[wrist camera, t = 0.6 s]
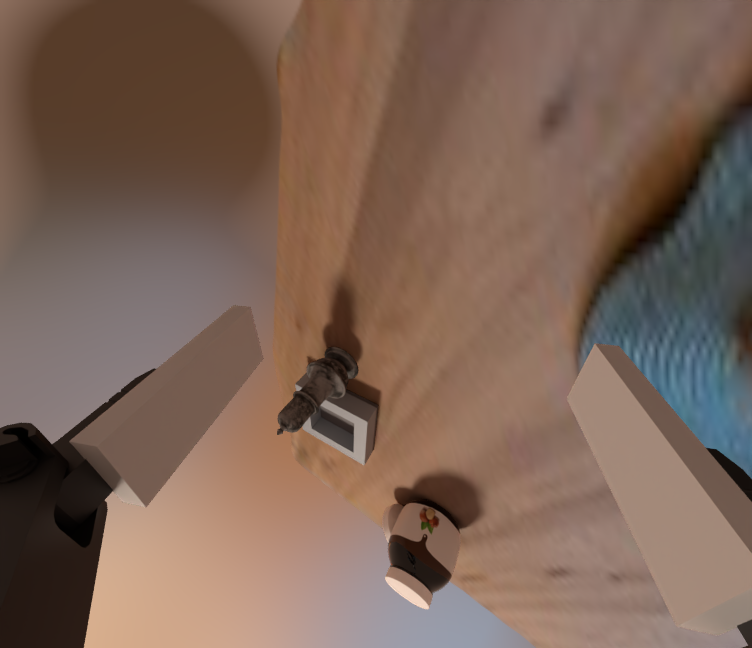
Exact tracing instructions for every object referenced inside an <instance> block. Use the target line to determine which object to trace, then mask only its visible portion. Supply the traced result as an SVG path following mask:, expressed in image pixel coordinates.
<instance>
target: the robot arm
mask: <svg viewBox="0 0 752 648" xmlns="http://www.w3.org/2000/svg"><path fill="white" fill-rule="evenodd" d="M262 360H263V355H262V351H261V346H260V342H259V338H258V334H257V330H256V326H255V323H254V319H253V315H252V311H251V307H245V306H236V305H234V306H232V307H231V308H230V309H229V310H228V311H226V312H225V313H224V314H223V315H221V316H220V317H219V318H218V319H217V320H216V321H214V322H213V323H212V324H211V325H209V326H208V327H207V328H206V329H204V330H203V331H202V332H201V333H200V334H198V335H197V336H196V337H195V338H194V339H192V340H191V341H190V342H189V343H188V344H186V345H185V346H184V347H183V348H182V349H180V350H179V351H178V352H177V353H175V354H174V355H173V356H172V357H171V358H169V359H168V360H167V361H166V362H164V363H163V364H162V365H161V366H160V367H158V368H157V369H152V370H150V371H148V372H146V373H145V374H143V375H141V376H139V377H137V378H135V379H134V380H133V381H131V382H130V383H129V384H128V385H126V386H125V387H124V388H123V389H121V392H118V393H117V394H115V395H114V396H113V397H112V398H110V399H109V401H108V402H107V403H106V402H105V403H104V404H103V405H102V406H100V407H99V408H98V409H97V410H95V411H94V412H93V413H91V414H90V415H89V416H88V417H86V418H85V419H84V420H83V421H81V422H80V423H79V424H78V425H76V426H75V427H74V428H73V429H71V430H70V431H69V432H68V433H66V434H65V435H64V436H63V437H61V438H60V439H59V440H58V441H56V442H55V443H53V444H51V443H50V442H49V441H48V440H47V439H46V438H45V436H44V435H43V434H42V433H41V432H40V431H39V430H38V429H37V428H36V427H35V426H34V425H32V424H31V423H17V424H12V425H7V426H4V427H2V428H0V648H84V643H85V637H86V631H87V625H88V619H89V614H90V608H91V602H92V596H93V591H94V585H95V579H96V573H97V568H98V562H99V556H100V550H101V545H102V538H103V533H104V527H105V521H106V516H107V510H108V509H107V502H105V499H106V498H107V497H108V496H109V494H110V493H111V492H112V491H113V492H114V493H115V494H116V495H117V496H118V497H119V499H120V500H121V501H122V502H124V503H129V504H133V505H138V506H142V507H147V506H148V505H149V503H150V502H151V500H153V498H154V497H155V495H156V494H157V493H158V492H159V491H160V489H161V488H162V487H163V486H164V484H165V483H166V482H167V480H168V479H169V478H170V476H171V475H172V474H173V473H174V472H175V470H176V469H177V467H178V466H179V465H180V464H181V463H182V461H183V460H184V459H185V458H186V456H187V455H188V454H189V453H190V451H191V450H192V449H193V447H194V446H195V445H196V444H197V442H198V441H199V440H200V439H201V437H202V436H203V435H204V434H205V432H206V431H207V430H208V428H209V427H210V426H211V425H212V423H213V422H214V421H215V419H216V418H217V417H218V416H219V414H220V413H221V412H222V411H223V409H224V408H225V407H226V406H227V404H228V403H229V402H230V401H231V399H232V398H233V397H234V395H235V394H236V393H237V392H238V390H239V389H240V388H241V387H242V385H243V384H244V383H245V381H246V380H247V379H248V378H249V376H250V375H251V374H252V373H253V371H254V370H255V369H256V368H257V366H258V365H259V364H260V362H261V361H262ZM567 401H568V403H569V405H570V407H571V409H572V411H573V413H574V415H575V417H576V419H577V421H578V423H579V425H580V428H581V430H582V432H583V434H584V436H585V438H586V440H587V442H588V444H589V446H590V448H591V450H592V452H593V454H594V457H595V459H596V461H597V463H598V465H599V467H600V469H601V471H602V473H603V475H604V477H605V479H606V481H607V483H608V486H609V488H610V490H611V492H612V494H613V496H614V498H615V500H616V502H617V504H618V506H619V508H620V510H621V512H622V515H623V517H624V519H625V521H626V523H627V525H628V527H629V529H630V531H631V533H632V535H633V537H634V539H635V541H636V544H637V546H638V548H639V550H640V552H641V554H642V556H643V558H644V560H645V562H646V564H647V566H648V568H649V571H650V573H651V575H652V577H653V579H654V581H655V583H656V585H657V587H658V589H659V591H660V593H661V595H662V597H663V600H664V602H665V604H666V606H667V608H668V610H669V612H670V614H671V616H672V618H673V620H674V622H675V624H676V626H677V627H681V628H686V629H690V630H695V631H699V632H703V633H708V634H712V635H717V636H718V635H720V634H722V633H725V632H727V631H729V630H732V629H734V628H737V627H738V629H739V631H740V632H741V634H742V635H743V637H744V639H745V640H746V642H747V644H748V646H746V647H743V648H752V479H751V478H750V477H749V476H748V475H747V474H746V473H745V472H744V470H743V469H741V468H740V467H739V466H737V465H736V464H735V463H734V462H732V461H731V460H730V459H728V458H727V457H726V456H724V455H723V454H722V453H720V452H719V451H718V450H717V449H710V448H705V447H704V445H703V444H702V443H701V442H700V441H699V440H698V438H697V437H696V436H695V435H694V434H693V433H692V431H691V430H690V429H689V428H688V427H687V425H686V424H685V423H684V422H683V421H682V420H681V418H680V417H679V416H678V415H677V414H676V413H675V411H674V410H673V409H672V408H671V407H670V405H669V404H668V403H667V402H666V401H665V400H664V398H663V397H662V396H661V395H660V394H659V393H658V391H657V390H656V389H655V388H654V387H653V386H652V384H651V383H650V382H649V381H648V380H647V378H646V377H645V376H644V375H643V374H642V373H641V371H640V370H639V369H638V368H637V367H636V366H635V364H634V363H633V362H632V361H631V360H630V359H629V357H628V356H627V355H626V354H625V353H624V351H623V350H622V349H621V348H620V347H619V346H614V345H604V344H594V346H593V348H592V350H591V352H590V354H589V356H588V358H587V360H586V362H585V364H584V366H583V368H582V370H581V372H580V373H579V375H578V377H577V379H576V381H575V383H574V385H573V387H572V389H571V391H570V393H569V395H568V397H567Z"/></svg>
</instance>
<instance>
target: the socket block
mask: <svg viewBox="0 0 752 648" xmlns="http://www.w3.org/2000/svg"><path fill="white" fill-rule="evenodd" d="M308 380H309V377H308V375H307V373H306V374H305V375H304V376H303V377H302V378H301V379H300V380H299V381H298V382H297V383H296V384H295V386H296V391H300V390H301V389H302V388H303V386H304V385H305V384H306V383H307V382H308ZM377 413H378V405H377V404H375V403H373V402H371V401H369V400H367V399H365V398H363V397H361V396H359V395H357V394H355V393H353V392H351V391H349V390H347V389H346V392H345V395H344V396H343V397H341V398H331V397H328V398H327V399H325V401H324V402H323V403H322V404H321V405H320V407H319V412H318V413H317V414H312V415H311V416H310V417H309V419H308V420H307V421H306V422H305V423H304V425H303V430H305V431H306V432H308V433H310V434H311V435H313V436H315V437H317V438H318V439H320V440H322V441H323V442H325V443H327V444H329V445H330V446H332V447H334V448H335V449H337V450H339V451H340V452H342V453H344V454H346V455H347V456H349V457H351V458H352V459H354V460H356V461H358V462H359V463H361V464H363V465H365V463H366V462H367V460H368V458H369V457H370V455H371V453H372V451H373V450H374V441H375V432H376V423H377Z"/></svg>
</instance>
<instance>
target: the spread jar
mask: <svg viewBox="0 0 752 648" xmlns="http://www.w3.org/2000/svg"><path fill="white" fill-rule="evenodd" d="M383 531H384V534H385V537H386V539H387V541H388V555H389V560H390V563H391V566H390V567H389V569H388V572H387V575H386V577H385V579H386V581H387V583H388V584H389V585H390V586H391V587H392V588H393V589H394V590H395V591H396V592H397V593H399V594H400V595H401V596H402V597H404V598H406V599H407V600H408V601H410V602H411V603H413V604H415V605H416V606H418V607H421V608H423V609H429V607H430V604H431V600H432V595H433V593H435V592H436V591H439V590H440V589H442V588H443V587H444V586H445V585H446V584H447V583H448V582H449V580H450V579H451V577H452V574H453V572H454V568H455V565H456V561H457V557H458V553H459V549H460V543H461V536H460V531H459V528H458V526H457V524H456V522H455V520H454V519H453V517H452V516H451V515H450V514H449V513H448V512H447V511H446V510H445V509H444V508H442V507H441V506H439V505H437V504H436V503H434V502H431V501H429V500H425V499H417V500H413V501H411V502H409V503H408V504H406V505H405V506H403V505H401V504H393V505H391V506H389V507H387V508H386V510H385V512H384V514H383Z"/></svg>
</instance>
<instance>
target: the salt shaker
mask: <svg viewBox="0 0 752 648" xmlns="http://www.w3.org/2000/svg"><path fill="white" fill-rule="evenodd" d="M357 374H358V366H357V364H356V362H355V360H354V359H353V358H352V356H351V355H350V354H348V353H347V352H346V351H344V350H342V349H340V348H337V347H330V348H328V349H327V350H326V351H325V358H321V359H319V360H317V361H315V362H311V363H310V364H309V365H308V366H307V375H308V377H309V380H308V382H307V383H306V384H305V385H304V386H303V388H302V389H301V390H300V391H295V392H294V394H293V397H294V398H293V399H292V400H291V401H290V402H289V403H288V404H287V405H286V406H285V407H284V408H283V410H282V411H281V412H280V413H279V415H278V423H279V425H280V429H278V431H277V435H279V434H282V433H283V431H288V432H292V433H293V432H297V431H298V430H299V429H300V428H301V427H302V426H303V425H304V423H305V422H306V421H307V420H308V419H309V417H310V416H311V415H312V414H317V413H318V412H319V407H320V405H321V404H322V403H323V402H324V401H325V399H327V398H328V397H331V398H341V397H343V396H344V395H345V392H346V388H347V384H348V379H352V378H355V377H356V376H357Z"/></svg>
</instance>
